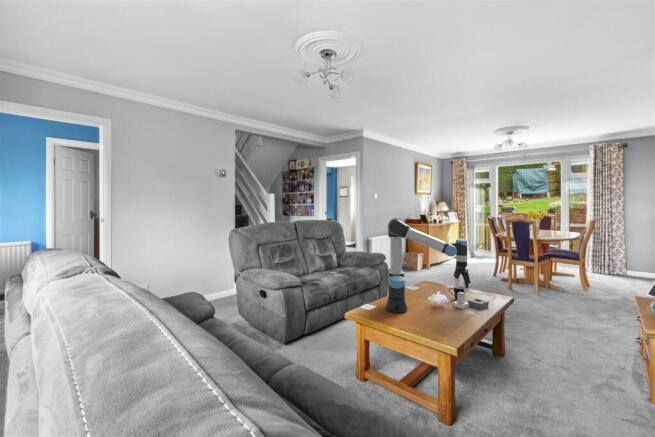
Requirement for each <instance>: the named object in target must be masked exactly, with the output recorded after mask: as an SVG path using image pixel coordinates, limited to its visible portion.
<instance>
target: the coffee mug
mask: <svg viewBox="0 0 655 437" xmlns="http://www.w3.org/2000/svg"><path fill="white" fill-rule="evenodd" d="M451 290H453V291H454V292H453V293H454V294H453V293H452V292H451ZM458 292H463V293H464V285H463V286H462V285H459V287H455V285H454V286H453V287H450V288H449V289H448V293H450V294H451V295H453V296H454V300H456V301H457V293H458Z"/></svg>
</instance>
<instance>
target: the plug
mask: <svg viewBox="0 0 655 437" xmlns="http://www.w3.org/2000/svg"><path fill="white" fill-rule="evenodd" d="M465 297H466V293H463V292H458V293H457V300H456V301H457V303H460V304H464V303H465V302H466V300H465V299H466V298H465Z"/></svg>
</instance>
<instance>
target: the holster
mask: <svg viewBox="0 0 655 437" xmlns="http://www.w3.org/2000/svg"><path fill="white" fill-rule="evenodd" d="M452 307H454V308H458V309H461V310H464V309H466V308H467V309H468V308H469V307H470V306H469V303H468V301H465V303H464V304H460V303H457V300H456V301H453V302H452Z"/></svg>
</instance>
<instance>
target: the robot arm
mask: <svg viewBox="0 0 655 437" xmlns="http://www.w3.org/2000/svg"><path fill="white" fill-rule="evenodd" d="M387 229H388V230H387V232H388V233H387V234H388V238H389V239H390V251H389V252H390V270H389V271H388V280H387V284H388V286H387V288H388V289H387V290H388V291H387V292H388V295H387V296H388V298H387V302H386V304H385V310H386V311H387V312H389V313H392V314H406V313H407V312H408V306H407V302H406V280H405V271H404V270H403V239H407V240H408V239H409V240H411V241H413V242H416V243H417V244H420V245H423V246H425V247H428V248H430V249H432V250H435V251H438V252H439V253H442V254H445V255H446V256H448V257H452V258H453V257H455V260H456V261H455V269H454V273H453V278H454V279H455V280H454V281H455V283H454V284H455V285H454V286H455V287H459V286H460V276H462V278H463V279H462V280H464V283H463V287H464V293H465V294H466V293H469V284H471V279H470V274H469V269H468V268H466V267H468V240H467V239H463V238H458V239H456V240H455V241H453V242H452V241H451V242H449V241H448V242H447V241H443V240H441V239H438V238H437V237H433V236H432V235H428V234H426V233H425V232H422V231H419V230H417V229H415V228H411V226H410V225H409V224H406V223H405V222H404V221H403V220H402V219H401V218H392V219H390V220H389V222H388V224H387Z"/></svg>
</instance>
